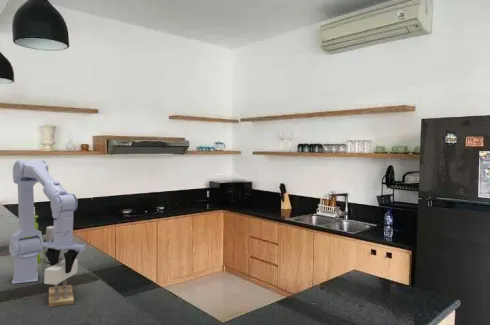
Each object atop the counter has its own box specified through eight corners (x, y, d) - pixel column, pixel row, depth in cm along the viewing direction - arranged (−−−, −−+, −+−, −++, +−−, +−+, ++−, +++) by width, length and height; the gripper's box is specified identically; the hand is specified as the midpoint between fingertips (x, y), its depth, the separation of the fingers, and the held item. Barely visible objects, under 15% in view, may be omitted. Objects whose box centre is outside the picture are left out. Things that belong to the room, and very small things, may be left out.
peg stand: (48, 291, 125) (49, 278, 124) (71, 288, 128) (71, 276, 128) (48, 307, 112) (49, 293, 112) (73, 303, 116) (74, 290, 116)
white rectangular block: (56, 284, 114) (56, 270, 114) (44, 283, 114) (44, 269, 114) (77, 272, 126) (77, 259, 126) (66, 271, 126) (66, 258, 126)
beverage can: (53, 264, 153) (54, 228, 152) (41, 262, 154) (43, 227, 153) (62, 260, 158) (63, 226, 158) (51, 259, 159) (52, 225, 159)
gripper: (90, 230, 123) (89, 269, 123) (49, 227, 124) (48, 266, 124) (79, 234, 116) (77, 276, 116) (36, 231, 117) (34, 273, 117)
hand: (61, 271), depth 120 cm, fingers closed on white rectangular block, 4 cm apart
